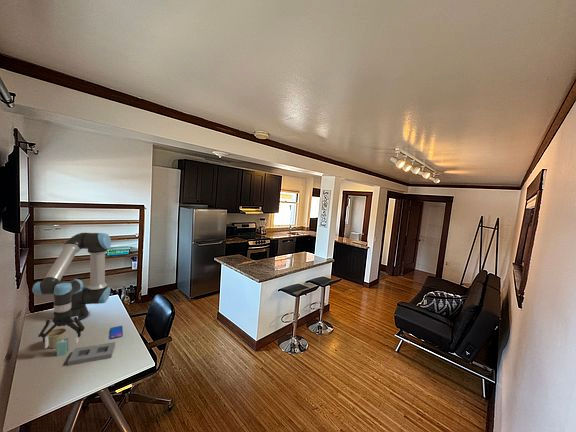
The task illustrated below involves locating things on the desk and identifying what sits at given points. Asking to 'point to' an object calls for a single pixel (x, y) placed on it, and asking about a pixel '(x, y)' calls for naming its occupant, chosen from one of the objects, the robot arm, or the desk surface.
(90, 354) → the outlet plate
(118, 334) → the smartphone
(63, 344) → the charger
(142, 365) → the desk surface
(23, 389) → the desk surface
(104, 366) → the desk surface
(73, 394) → the desk surface
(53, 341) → the flower pot
